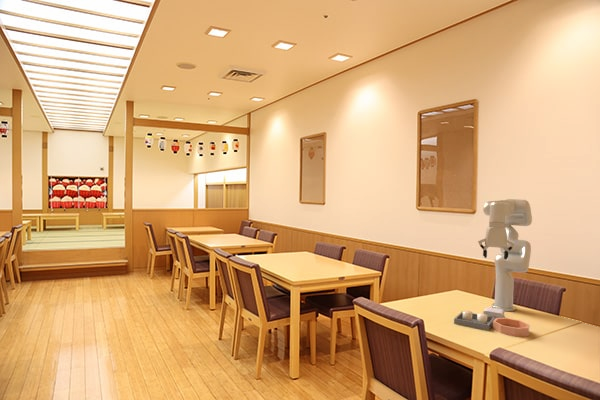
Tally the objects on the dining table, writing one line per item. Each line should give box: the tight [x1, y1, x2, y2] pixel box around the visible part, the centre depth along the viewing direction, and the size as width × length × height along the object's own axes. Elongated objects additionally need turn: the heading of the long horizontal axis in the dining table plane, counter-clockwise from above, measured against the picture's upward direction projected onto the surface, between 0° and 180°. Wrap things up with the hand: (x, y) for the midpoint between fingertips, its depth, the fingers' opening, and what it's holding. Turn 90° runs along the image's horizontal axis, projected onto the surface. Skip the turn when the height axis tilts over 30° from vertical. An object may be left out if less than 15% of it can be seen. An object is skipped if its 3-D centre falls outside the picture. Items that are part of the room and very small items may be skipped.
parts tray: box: [453, 310, 495, 332], centre depth 204 cm, size 16×16×3 cm
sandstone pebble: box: [462, 310, 473, 322], centre depth 206 cm, size 5×5×5 cm
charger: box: [482, 306, 505, 318], centre depth 217 cm, size 5×9×15 cm
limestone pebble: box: [476, 312, 487, 325], centre depth 202 cm, size 5×5×5 cm
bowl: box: [492, 317, 530, 337], centre depth 195 cm, size 15×15×4 cm
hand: (495, 258), depth 211 cm, fingers open, 9 cm apart
